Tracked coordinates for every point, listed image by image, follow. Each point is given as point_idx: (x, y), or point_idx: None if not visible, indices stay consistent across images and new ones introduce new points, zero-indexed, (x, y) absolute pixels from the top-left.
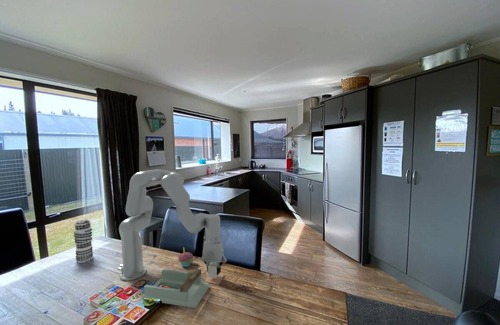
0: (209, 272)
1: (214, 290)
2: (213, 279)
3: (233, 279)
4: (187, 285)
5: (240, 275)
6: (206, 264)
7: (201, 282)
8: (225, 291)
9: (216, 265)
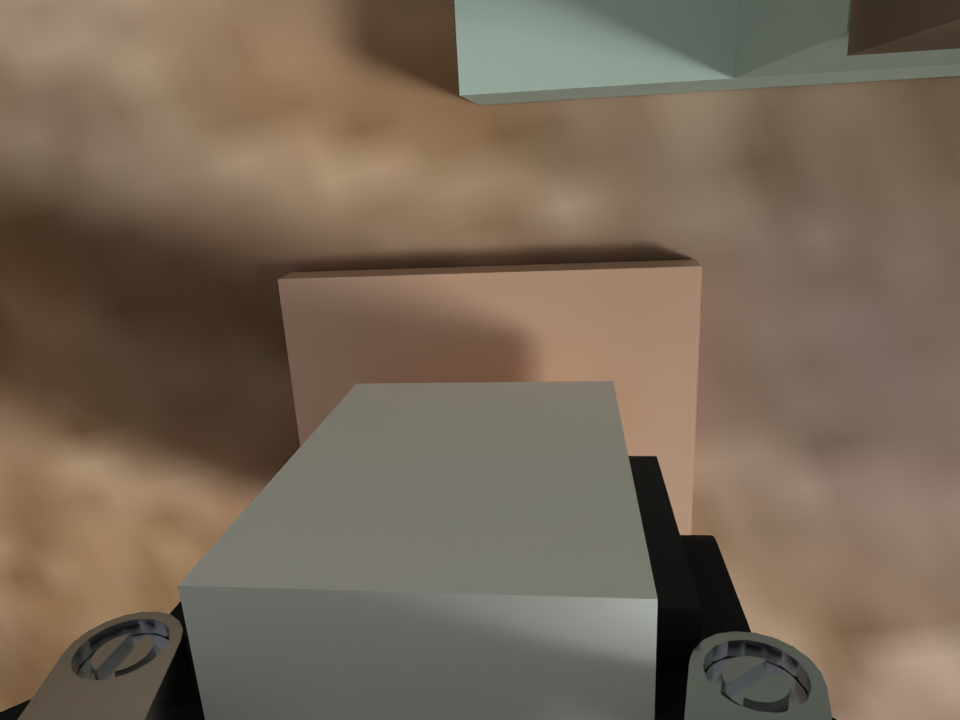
0: (570, 444)
1: (294, 44)
2: None
3: (87, 520)
4: None
5: (26, 658)
6: (803, 708)
7: (712, 49)
8: (31, 81)
9: (229, 693)
